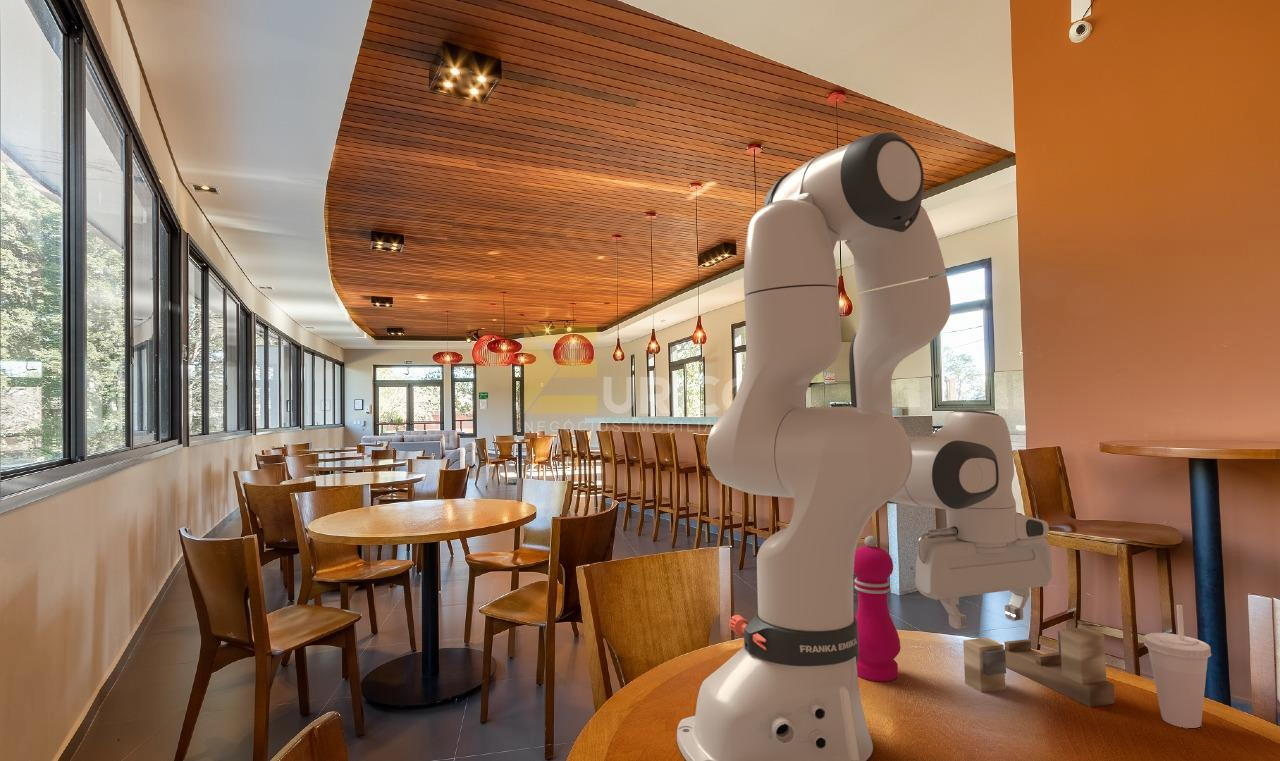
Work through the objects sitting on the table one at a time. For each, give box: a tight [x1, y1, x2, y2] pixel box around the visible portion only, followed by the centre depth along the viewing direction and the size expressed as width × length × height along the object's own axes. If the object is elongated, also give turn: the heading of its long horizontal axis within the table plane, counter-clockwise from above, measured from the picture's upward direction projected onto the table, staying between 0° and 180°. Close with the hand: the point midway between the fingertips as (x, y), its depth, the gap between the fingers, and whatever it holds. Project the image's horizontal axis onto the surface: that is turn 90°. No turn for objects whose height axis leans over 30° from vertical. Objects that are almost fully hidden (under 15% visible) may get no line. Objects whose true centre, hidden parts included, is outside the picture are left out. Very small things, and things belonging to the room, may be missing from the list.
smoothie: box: [1143, 604, 1212, 729], centre depth 79 cm, size 6×6×14 cm
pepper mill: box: [853, 535, 902, 682], centre depth 95 cm, size 7×7×20 cm
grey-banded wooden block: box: [962, 637, 1007, 693], centre depth 89 cm, size 4×4×6 cm
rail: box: [1004, 626, 1116, 708], centre depth 90 cm, size 4×14×8 cm, turn 14°
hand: (986, 623), depth 90 cm, fingers open, 8 cm apart
